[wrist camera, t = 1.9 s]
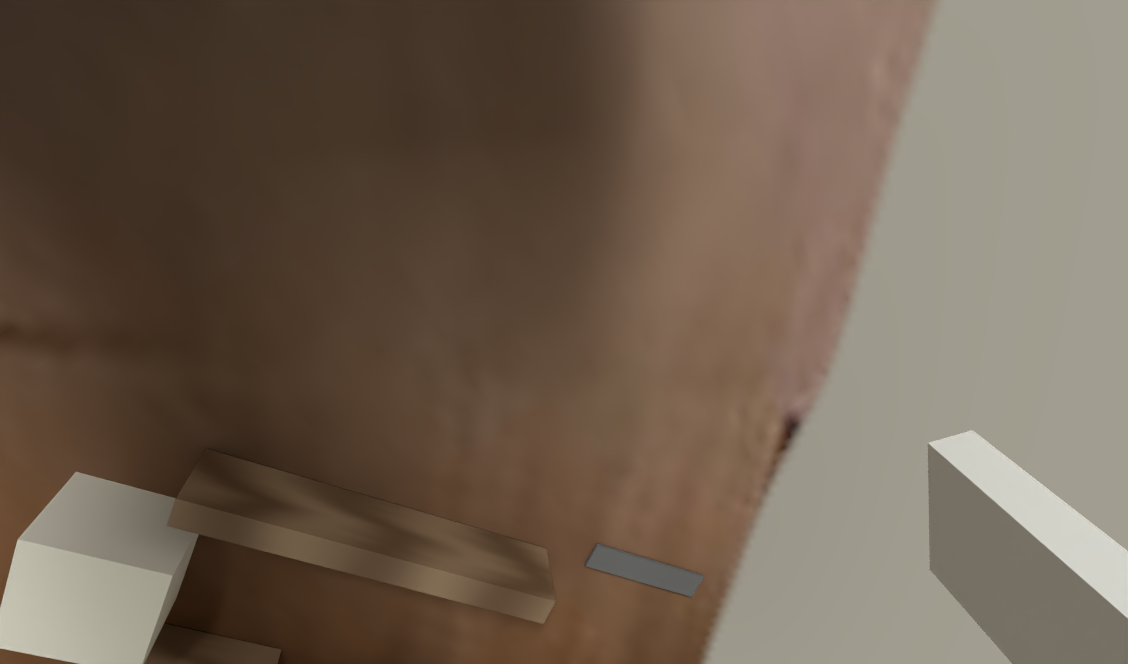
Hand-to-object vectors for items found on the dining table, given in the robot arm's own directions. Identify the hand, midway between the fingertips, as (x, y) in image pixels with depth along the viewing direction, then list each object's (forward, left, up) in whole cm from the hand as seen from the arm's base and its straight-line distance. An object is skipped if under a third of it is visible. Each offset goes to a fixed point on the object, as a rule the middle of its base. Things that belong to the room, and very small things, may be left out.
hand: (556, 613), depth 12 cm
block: (-10, -21, -23) cm, 32 cm away
